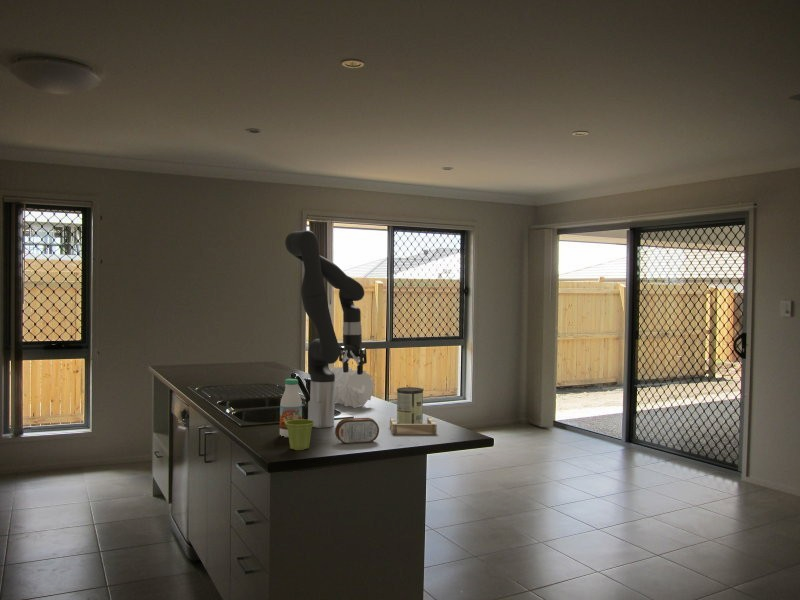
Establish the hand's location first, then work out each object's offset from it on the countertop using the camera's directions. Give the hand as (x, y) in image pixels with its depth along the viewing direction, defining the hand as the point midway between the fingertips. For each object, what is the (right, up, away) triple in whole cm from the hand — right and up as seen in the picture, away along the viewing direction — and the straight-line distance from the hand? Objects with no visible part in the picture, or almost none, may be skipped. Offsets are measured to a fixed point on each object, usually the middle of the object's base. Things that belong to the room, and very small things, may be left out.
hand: (352, 373), depth 261 cm
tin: (+4, -19, -40) cm, 45 cm away
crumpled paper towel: (-6, -19, +37) cm, 42 cm away
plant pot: (-14, -19, -50) cm, 55 cm away
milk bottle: (-20, -19, -30) cm, 41 cm away
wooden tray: (+24, -19, -18) cm, 35 cm away
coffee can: (+23, -20, -7) cm, 31 cm away
